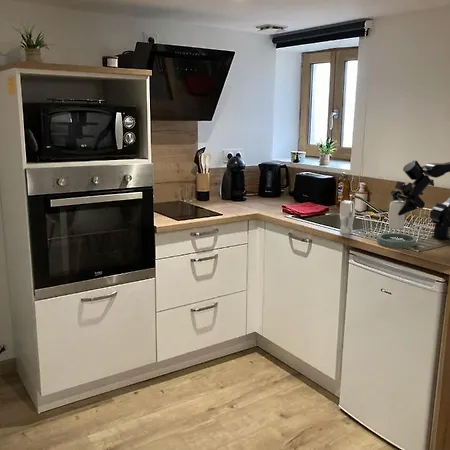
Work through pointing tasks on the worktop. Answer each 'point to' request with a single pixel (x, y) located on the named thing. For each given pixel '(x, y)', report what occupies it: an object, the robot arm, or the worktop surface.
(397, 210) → the can
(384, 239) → the dish
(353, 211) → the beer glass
